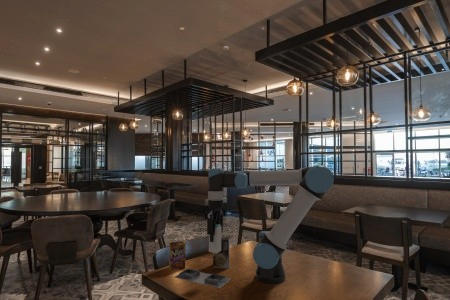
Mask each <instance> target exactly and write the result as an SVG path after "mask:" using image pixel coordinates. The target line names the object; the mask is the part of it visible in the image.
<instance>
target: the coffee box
mask: <svg viewBox="0 0 450 300" xmlns="http://www.w3.org/2000/svg"><path fill="white" fill-rule="evenodd" d="M230 240H231V239H230V236H221V251H220V252H218V253H213V252H212V268H213V269H228V270H229V269H230V266H231V263H230V260H231V259H230V257H231V256H230V249H231V248H230V247H231V246H230V242H231V241H230Z"/></svg>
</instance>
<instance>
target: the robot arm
mask: <svg viewBox="0 0 450 300" xmlns="http://www.w3.org/2000/svg"><path fill="white" fill-rule="evenodd" d="M207 174H208V177H207V183H208V184H207V185H208V189H207V190H208V191H207V196H208V198H207V199H208V200H207V206H208V208H209V213H206V220H207V221H206V225H207V226H206V229H207V230H206V234H207V235H208V236H209V235H210V248H212V249H215V235H214V234H215V225H216V224H220V225H221V233H223V230H224V229H223V228H224V210H223V209H222V208H223V207H224V200H223V199H224V189H246V188H247V187H255V186H258V187H259V186H260V187H261V186H262V187H263V186H264V187H265V186H267V187H268V186H272V187H273V186H298V191H297V192H296V194H294V197H293V198H292V199H291V201H290V202H289V204H288V205H287V206H286V208H285V209H284V210H283V213H281V215H280V217H279V218H278V219H277V221H276V222H275V224H274V226H273V227H272V228H271V230H268V231H267V230H264V231H263V230H262V231H260V232H259V234H258V242H257V244H256V245H255V246H254V248H253V251H252V258H253V260H254V262H255V264H256V265H257V266H256V270H255V278H256V279H257V280H258V281H260V282H263V283H266V284H280V283H283V282H285V280H286V279H287V278H286V275H287V274H286V271H285V268H284V265H283V254H284V253H285V250H286V249H287V242H288V241H289V239H290V238H291V236H292V235H293V233H294V232H295V231H296V229H297V228H298V226H299V225H300V223H302V221H303V219H304V218H305V217H306V216H307V213H309V211H310V209H311V208H312V206H313V205H314V204H315V202H316V201H321V200H322V199H323V197H324V196H325V195H326V193H327V192H328V191H329V190H330V189H332V187H333V186H334V182H335V180H334V179H335V178H334V177H335V176H334V174H333V172H332V170H331V169H330V168H328V167H327V166H325V165H322V164H316V165H313V166H309V167H308V166H307V167H300V168H298V169H292V170H291V169H290V170H289V169H288V170H287V169H286V170H266V171H265V170H263V171H238V172H225V171H224V169H223V168H210V169H209V170H208V173H207Z"/></svg>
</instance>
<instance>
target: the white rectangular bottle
mask: <svg viewBox="0 0 450 300" xmlns="http://www.w3.org/2000/svg"><path fill="white" fill-rule="evenodd" d="M221 231H222V230H221V225H220V224H216V225H215V234H214V235H215V249H212V248H210V235H208V252H210V253H212V254H213V253H218V252H220V251H221V237H222V232H221Z"/></svg>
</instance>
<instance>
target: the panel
mask: <svg viewBox="0 0 450 300" xmlns="http://www.w3.org/2000/svg"><path fill="white" fill-rule="evenodd" d="M174 278H176V279H179V280H184V281H189V282H192V283H196V284H200V285H201V284H202V285H206V286H210V287H214V288H216V289H218V290H220V289H221V288H222V287H223V286H224V285H226V284H227V283H228V282H229V281H231V278H230V277H226V276H225V275H221V274H215V273H206V272H202V271H200V270H196V269H194V268H185V269H183V270H182V271H180V272H179V273H178V274H177V275H175V276H174Z"/></svg>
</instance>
